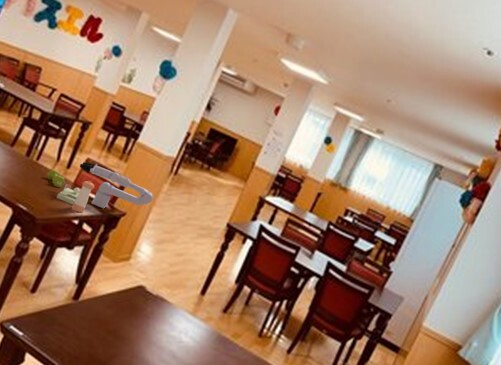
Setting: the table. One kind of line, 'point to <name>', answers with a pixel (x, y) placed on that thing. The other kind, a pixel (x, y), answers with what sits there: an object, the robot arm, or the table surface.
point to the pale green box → (67, 195)
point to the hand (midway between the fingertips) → (81, 164)
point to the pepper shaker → (83, 196)
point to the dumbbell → (56, 178)
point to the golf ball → (76, 190)
